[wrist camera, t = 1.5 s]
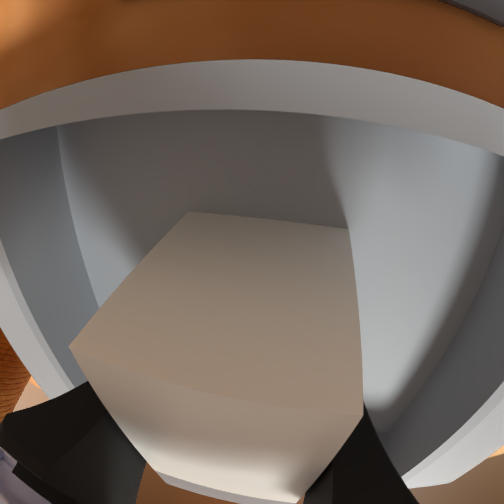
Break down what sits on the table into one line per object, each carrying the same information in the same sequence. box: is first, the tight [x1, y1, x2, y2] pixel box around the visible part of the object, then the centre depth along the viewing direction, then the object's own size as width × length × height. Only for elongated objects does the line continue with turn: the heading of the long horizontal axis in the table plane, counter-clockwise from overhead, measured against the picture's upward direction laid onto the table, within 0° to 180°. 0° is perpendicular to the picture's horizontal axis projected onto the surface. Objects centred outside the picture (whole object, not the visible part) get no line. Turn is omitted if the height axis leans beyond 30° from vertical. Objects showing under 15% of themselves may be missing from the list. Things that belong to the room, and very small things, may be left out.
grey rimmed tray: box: [0, 59, 504, 488], centre depth 10 cm, size 26×18×4 cm
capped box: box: [68, 211, 363, 504], centre depth 9 cm, size 5×9×6 cm, turn 179°
